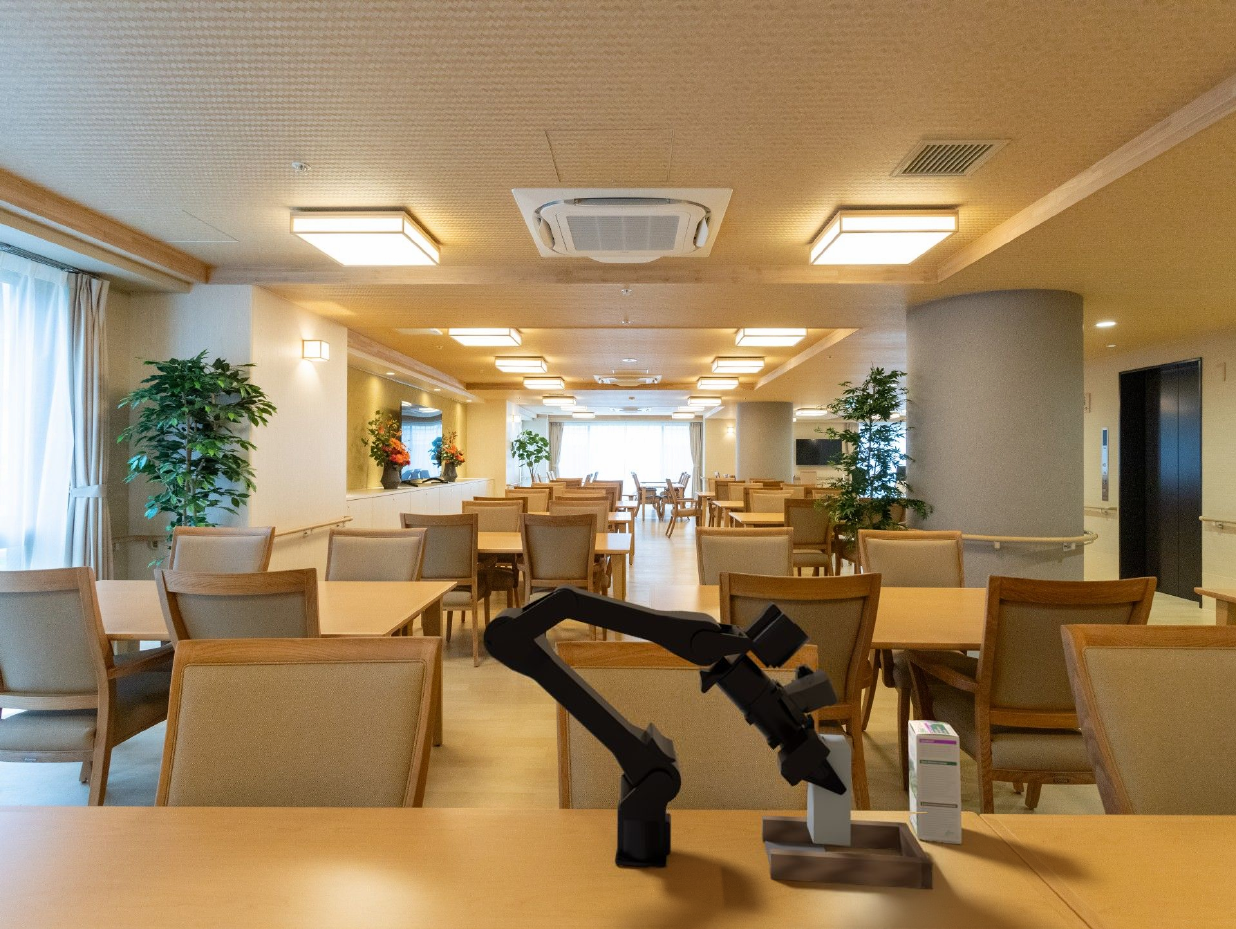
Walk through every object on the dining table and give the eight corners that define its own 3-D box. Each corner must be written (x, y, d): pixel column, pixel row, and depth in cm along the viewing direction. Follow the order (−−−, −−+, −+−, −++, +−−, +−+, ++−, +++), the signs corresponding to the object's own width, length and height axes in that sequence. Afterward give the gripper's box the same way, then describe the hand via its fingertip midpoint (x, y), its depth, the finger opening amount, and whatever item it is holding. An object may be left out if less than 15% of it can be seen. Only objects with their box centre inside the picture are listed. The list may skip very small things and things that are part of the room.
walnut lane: (770, 878, 84) (770, 853, 84) (761, 837, 94) (761, 815, 94) (932, 888, 83) (932, 863, 83) (906, 845, 92) (906, 822, 92)
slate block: (813, 843, 87) (814, 746, 87) (807, 825, 91) (808, 733, 91) (850, 845, 86) (851, 748, 86) (842, 827, 91) (843, 735, 91)
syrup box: (963, 845, 93) (962, 735, 93) (916, 840, 94) (915, 732, 94) (951, 824, 98) (951, 721, 99) (907, 820, 99) (907, 718, 100)
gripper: (812, 670, 80) (909, 772, 79) (788, 635, 99) (866, 717, 98) (742, 735, 81) (838, 837, 80) (731, 687, 99) (809, 770, 98)
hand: (839, 783), depth 89 cm, fingers closed on slate block, 4 cm apart
